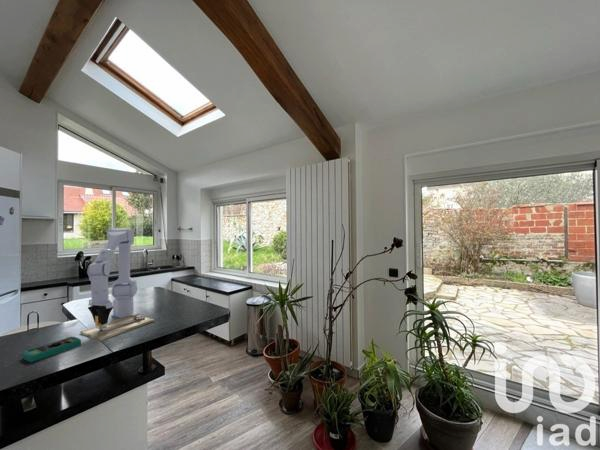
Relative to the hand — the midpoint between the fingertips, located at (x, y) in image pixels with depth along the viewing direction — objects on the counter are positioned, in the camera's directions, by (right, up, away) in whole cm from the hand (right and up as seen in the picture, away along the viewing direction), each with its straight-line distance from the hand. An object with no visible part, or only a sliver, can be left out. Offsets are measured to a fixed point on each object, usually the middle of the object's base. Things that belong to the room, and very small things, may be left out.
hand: (101, 323), depth 111 cm
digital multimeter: (-6, -5, -15) cm, 17 cm away
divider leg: (+1, -3, -1) cm, 3 cm away
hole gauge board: (+3, -4, +6) cm, 8 cm away
